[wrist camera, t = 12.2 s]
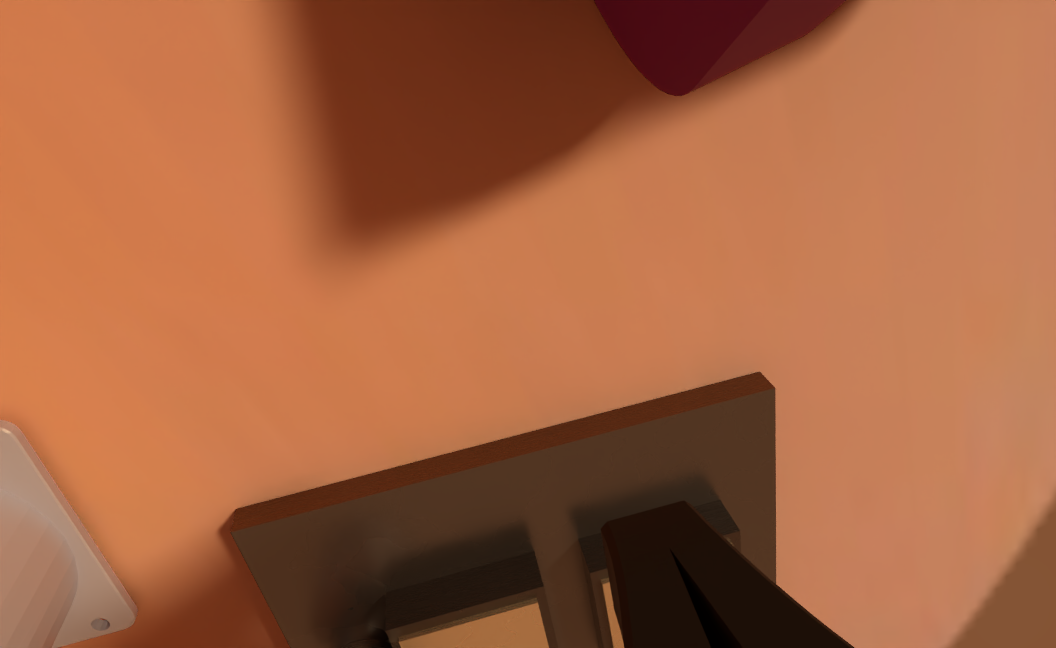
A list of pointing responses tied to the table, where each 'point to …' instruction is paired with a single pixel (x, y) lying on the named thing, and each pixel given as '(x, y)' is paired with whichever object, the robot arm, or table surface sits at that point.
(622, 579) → the robot arm
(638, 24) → the mounting bracket
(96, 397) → the table surface
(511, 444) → the tray
